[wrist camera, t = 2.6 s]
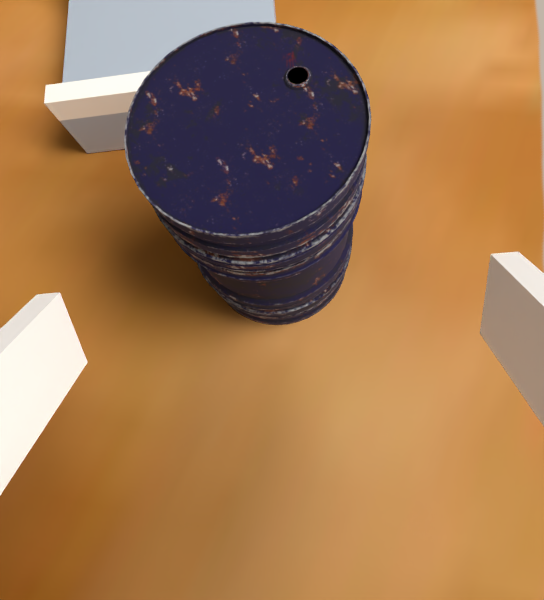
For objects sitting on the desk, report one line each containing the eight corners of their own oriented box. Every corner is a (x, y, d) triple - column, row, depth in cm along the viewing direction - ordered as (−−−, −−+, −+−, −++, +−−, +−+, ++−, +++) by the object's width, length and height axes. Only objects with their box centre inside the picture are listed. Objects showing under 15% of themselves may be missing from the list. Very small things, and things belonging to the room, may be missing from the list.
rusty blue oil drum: (274, 356, 29) (231, 295, 15) (183, 259, 32) (73, 127, 18) (378, 258, 30) (431, 113, 16) (282, 171, 33) (254, -19, 19)
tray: (87, 153, 35) (44, 103, 30) (96, -1, 40) (60, -69, 34) (285, 129, 34) (278, 72, 28) (272, -27, 38) (264, -103, 33)
